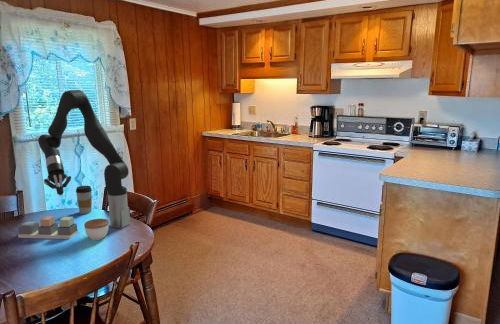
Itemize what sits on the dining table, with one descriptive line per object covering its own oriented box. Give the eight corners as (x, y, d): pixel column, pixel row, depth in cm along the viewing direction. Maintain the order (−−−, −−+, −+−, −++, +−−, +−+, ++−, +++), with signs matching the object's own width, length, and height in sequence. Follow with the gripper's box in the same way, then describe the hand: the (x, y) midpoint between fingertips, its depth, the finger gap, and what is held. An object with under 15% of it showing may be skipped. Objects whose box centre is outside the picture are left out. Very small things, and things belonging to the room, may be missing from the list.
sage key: (73, 223, 173) (73, 216, 173) (68, 227, 169) (68, 220, 168) (64, 223, 173) (64, 216, 173) (59, 226, 169) (59, 219, 168)
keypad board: (78, 232, 176) (77, 222, 175) (69, 238, 168) (69, 229, 167) (29, 231, 177) (27, 221, 176) (18, 237, 169) (16, 227, 168)
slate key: (36, 228, 175) (36, 221, 174) (31, 231, 170) (30, 225, 170) (28, 228, 175) (27, 221, 174) (22, 231, 170) (21, 224, 170)
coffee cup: (89, 214, 201) (87, 189, 198) (74, 214, 201) (72, 189, 198) (96, 209, 209) (94, 185, 206) (82, 209, 210) (79, 185, 207)
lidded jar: (100, 243, 164) (99, 224, 162) (80, 241, 166) (78, 222, 164) (114, 234, 174) (112, 216, 172) (94, 232, 176) (93, 214, 175)
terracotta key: (54, 223, 174) (54, 216, 173) (49, 226, 169) (48, 219, 169) (46, 223, 174) (45, 216, 173) (40, 226, 169) (39, 219, 169)
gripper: (40, 163, 179) (45, 192, 171) (69, 160, 186) (75, 188, 179) (40, 171, 184) (45, 200, 176) (68, 168, 191) (74, 195, 184)
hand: (60, 194), depth 178 cm, fingers closed
